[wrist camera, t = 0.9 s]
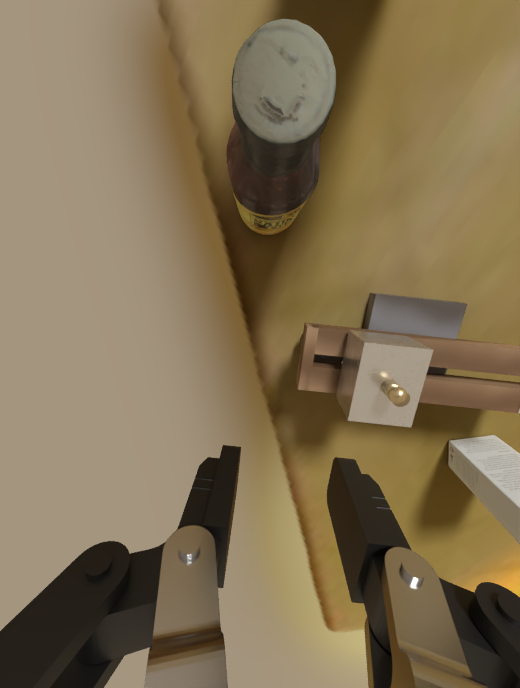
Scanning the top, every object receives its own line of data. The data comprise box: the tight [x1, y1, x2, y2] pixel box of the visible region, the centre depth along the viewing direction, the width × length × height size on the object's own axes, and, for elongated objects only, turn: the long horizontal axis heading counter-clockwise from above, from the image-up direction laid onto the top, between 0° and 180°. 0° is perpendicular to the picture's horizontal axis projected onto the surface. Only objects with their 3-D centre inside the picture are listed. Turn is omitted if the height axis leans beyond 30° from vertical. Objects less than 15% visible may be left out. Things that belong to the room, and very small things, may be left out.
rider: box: [336, 330, 433, 427], centre depth 23 cm, size 6×5×8 cm
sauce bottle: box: [227, 19, 336, 235], centre depth 20 cm, size 6×6×20 cm
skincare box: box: [448, 435, 520, 544], centre depth 31 cm, size 6×4×12 cm
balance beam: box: [296, 293, 520, 413], centre depth 29 cm, size 12×26×9 cm, turn 84°
